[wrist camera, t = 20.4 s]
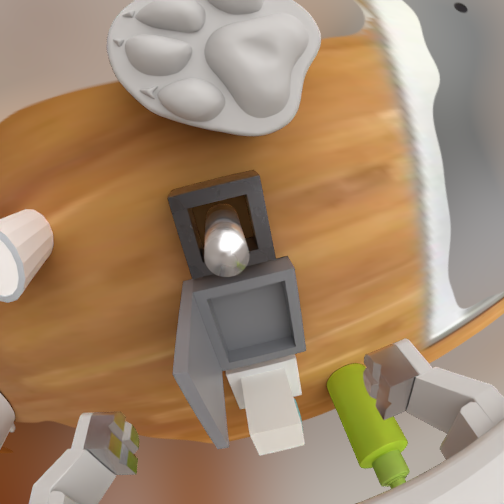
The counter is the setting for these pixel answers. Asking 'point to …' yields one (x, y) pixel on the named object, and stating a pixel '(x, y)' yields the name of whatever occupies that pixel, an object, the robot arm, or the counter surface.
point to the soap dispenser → (368, 426)
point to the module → (272, 412)
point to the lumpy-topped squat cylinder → (215, 60)
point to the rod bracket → (216, 191)
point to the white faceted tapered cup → (22, 251)
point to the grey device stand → (233, 333)
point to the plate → (283, 362)
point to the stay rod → (224, 242)
